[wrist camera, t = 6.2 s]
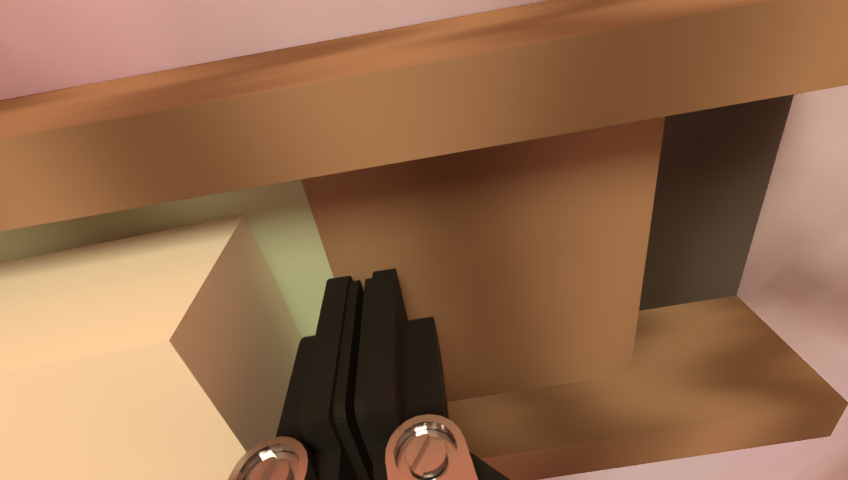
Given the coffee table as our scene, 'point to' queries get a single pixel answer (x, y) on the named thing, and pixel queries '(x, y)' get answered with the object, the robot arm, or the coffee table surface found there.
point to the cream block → (142, 357)
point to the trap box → (488, 205)
